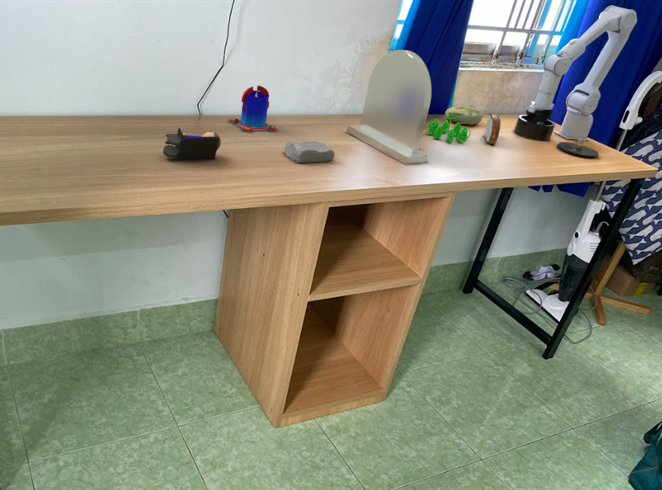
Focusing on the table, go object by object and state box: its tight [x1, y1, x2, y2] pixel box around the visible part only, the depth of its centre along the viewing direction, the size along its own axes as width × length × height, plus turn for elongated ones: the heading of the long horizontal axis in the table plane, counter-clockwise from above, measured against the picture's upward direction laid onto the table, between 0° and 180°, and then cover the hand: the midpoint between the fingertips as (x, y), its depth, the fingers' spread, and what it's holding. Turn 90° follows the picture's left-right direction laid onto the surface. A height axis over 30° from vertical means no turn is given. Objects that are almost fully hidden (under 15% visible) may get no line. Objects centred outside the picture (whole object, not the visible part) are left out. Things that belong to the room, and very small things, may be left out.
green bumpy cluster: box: [424, 116, 471, 144], centre depth 203 cm, size 15×15×7 cm
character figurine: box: [162, 127, 222, 161], centre depth 155 cm, size 8×7×15 cm
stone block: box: [284, 141, 335, 164], centre depth 168 cm, size 12×5×10 cm
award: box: [346, 49, 432, 165], centre depth 180 cm, size 28×9×28 cm, turn 32°
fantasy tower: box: [229, 84, 278, 133], centre depth 184 cm, size 12×12×12 cm
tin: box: [484, 112, 502, 145], centre depth 207 cm, size 15×3×8 cm, turn 168°
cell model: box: [444, 106, 484, 125], centre depth 223 cm, size 11×8×15 cm
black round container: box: [513, 114, 556, 142], centre depth 221 cm, size 13×13×5 cm
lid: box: [556, 137, 600, 158], centre depth 210 cm, size 14×14×5 cm
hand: (533, 130), depth 222 cm, fingers open, 5 cm apart
